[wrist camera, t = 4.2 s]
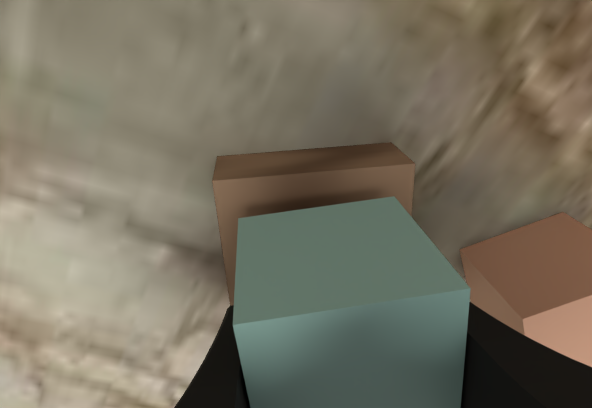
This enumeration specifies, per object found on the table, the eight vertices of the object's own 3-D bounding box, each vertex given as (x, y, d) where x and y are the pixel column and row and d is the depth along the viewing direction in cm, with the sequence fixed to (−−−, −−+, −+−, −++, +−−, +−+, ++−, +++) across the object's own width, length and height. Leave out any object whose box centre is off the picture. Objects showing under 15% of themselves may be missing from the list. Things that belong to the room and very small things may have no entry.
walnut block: (388, 140, 17) (415, 163, 14) (382, 280, 20) (403, 322, 17) (217, 154, 17) (212, 180, 14) (236, 296, 20) (235, 341, 17)
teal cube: (394, 196, 13) (470, 288, 9) (395, 319, 15) (457, 446, 11) (238, 218, 13) (232, 325, 8) (260, 340, 15) (266, 479, 10)
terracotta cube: (561, 211, 19) (658, 271, 15) (568, 292, 21) (655, 367, 17) (458, 248, 19) (522, 319, 15) (475, 325, 22) (536, 407, 17)
